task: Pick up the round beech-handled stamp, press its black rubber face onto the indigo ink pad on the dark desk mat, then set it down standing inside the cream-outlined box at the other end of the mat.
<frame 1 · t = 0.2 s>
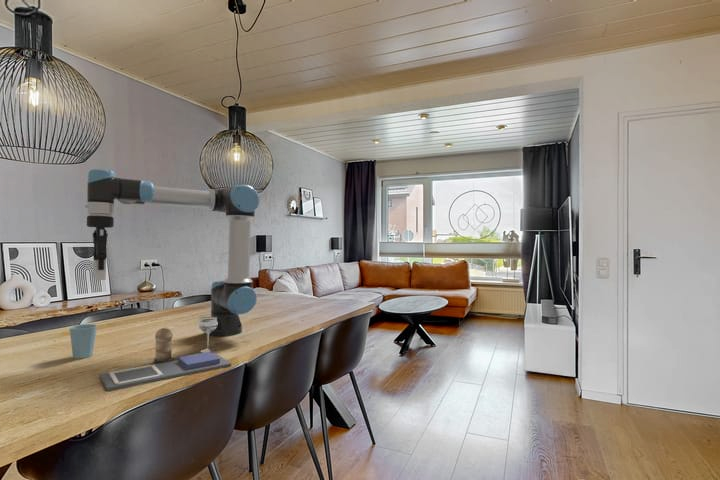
hand: (99, 278, 127), 28 cm above the table, fingers open, 13 cm apart
desk mat: (169, 370, 118), on the table
wineglass: (207, 351, 140), on the table
cup: (82, 357, 131), on the table
stamp: (163, 361, 127), on the table
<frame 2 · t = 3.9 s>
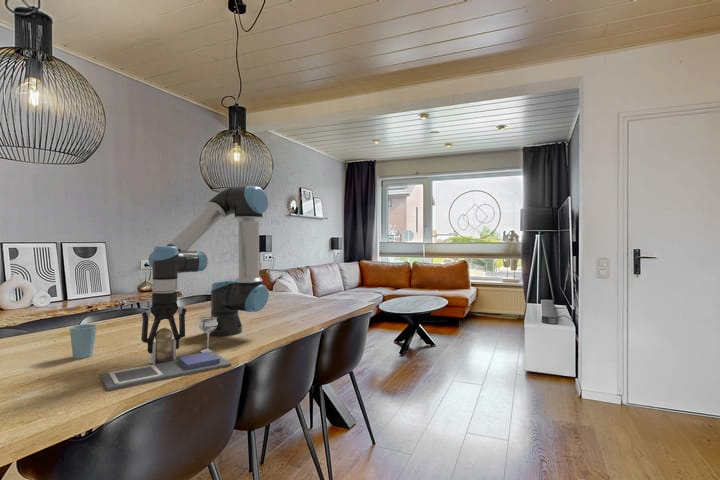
hand: (163, 360, 127), 0 cm above the table, fingers closed on stamp, 6 cm apart
stamp: (163, 361, 127), on the table, touching gripper
everything else where it was.
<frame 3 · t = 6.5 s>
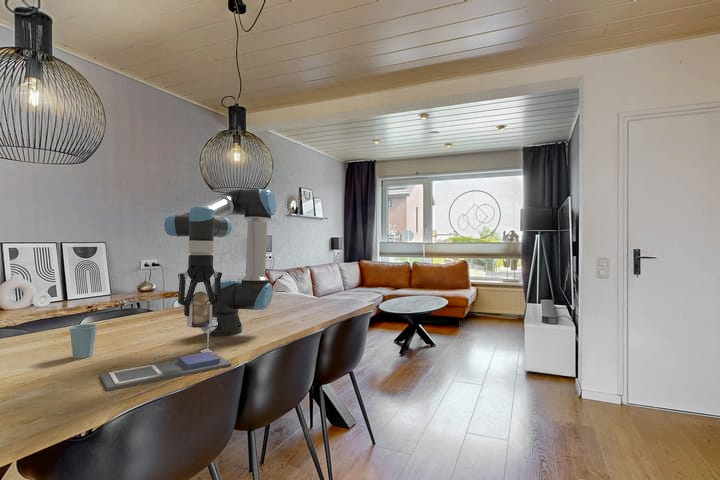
hand: (199, 324, 124), 13 cm above the table, fingers closed on stamp, 5 cm apart
stamp: (199, 325, 124), point 13 cm above the table, touching gripper
everything else where it was.
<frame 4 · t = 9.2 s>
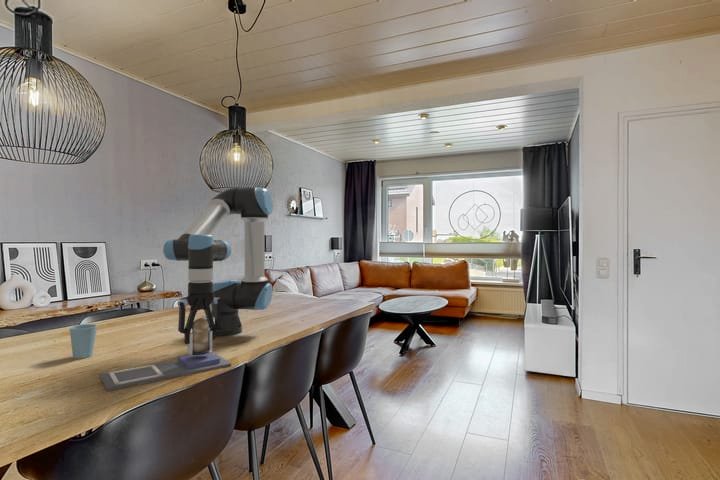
hand: (199, 351, 124), 4 cm above the table, fingers closed on stamp, 5 cm apart
stamp: (199, 352, 124), point 4 cm above the table, touching gripper
everything else where it was.
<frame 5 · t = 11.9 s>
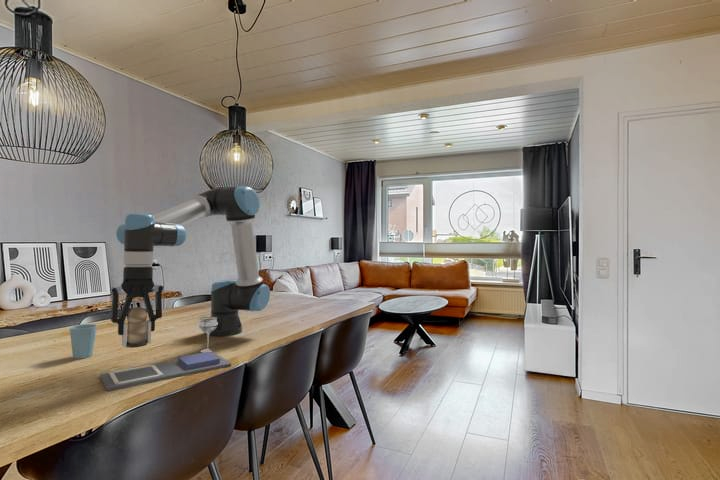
hand: (136, 343, 112), 10 cm above the table, fingers closed on stamp, 6 cm apart
stamp: (136, 345, 112), point 10 cm above the table, touching gripper
everything else where it was.
when the fingers open (2 cm above the table, at t = 14.3 s): stamp drops 1 cm, resting on desk mat.
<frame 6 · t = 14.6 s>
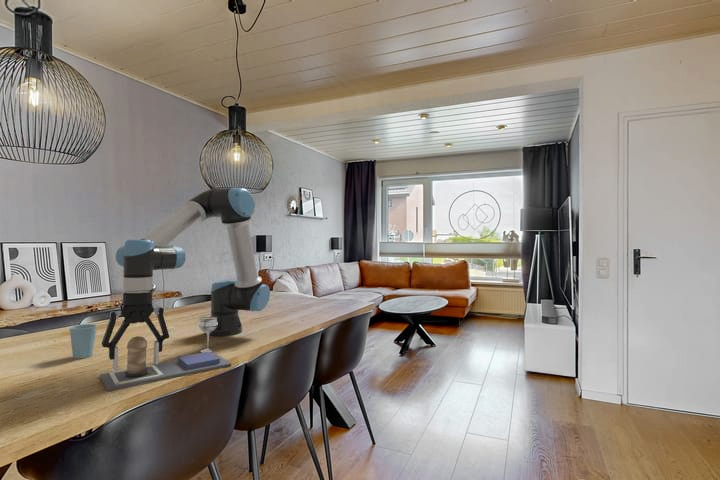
hand: (136, 366, 112), 3 cm above the table, fingers open, 10 cm apart
stamp: (136, 374, 112), point 1 cm above the table, touching desk mat
everything else where it was.
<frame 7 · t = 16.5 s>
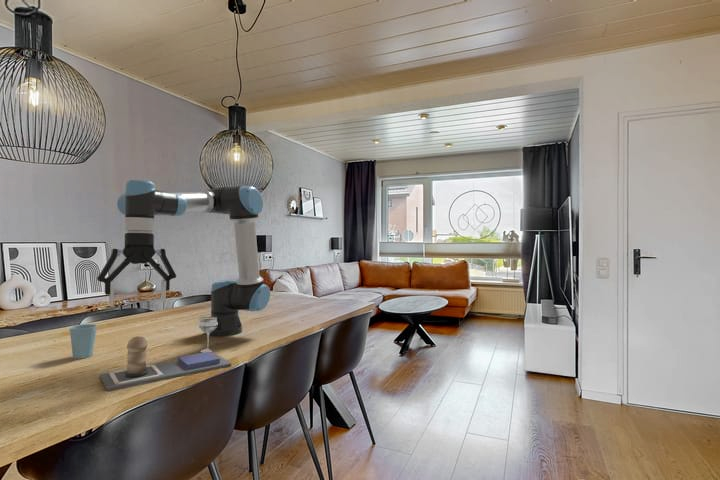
hand: (138, 303, 112), 22 cm above the table, fingers open, 13 cm apart
nothing on the table moved.
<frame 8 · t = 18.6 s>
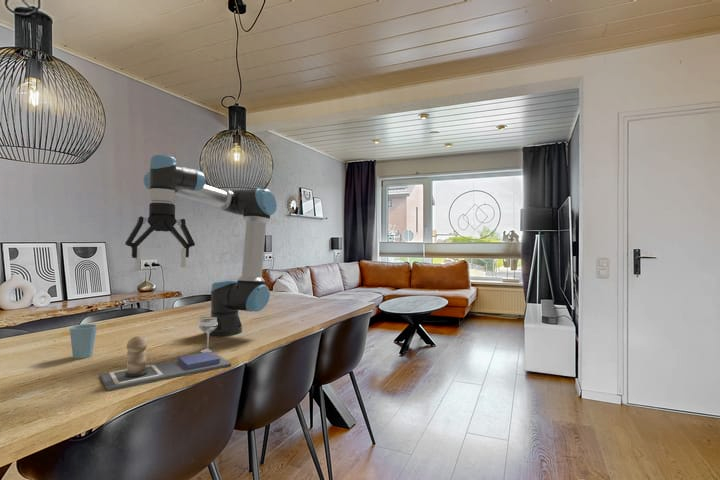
hand: (161, 267, 123), 32 cm above the table, fingers open, 13 cm apart
nothing on the table moved.
at the end: stamp inside the target area on the desk mat (0.1 cm from its centre), point 0.8 cm above the desk mat's base; stamp tilted 1°; the gripper is holding nothing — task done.
